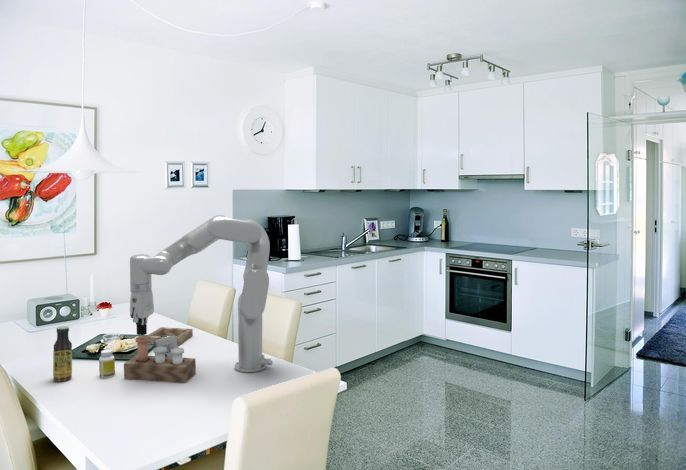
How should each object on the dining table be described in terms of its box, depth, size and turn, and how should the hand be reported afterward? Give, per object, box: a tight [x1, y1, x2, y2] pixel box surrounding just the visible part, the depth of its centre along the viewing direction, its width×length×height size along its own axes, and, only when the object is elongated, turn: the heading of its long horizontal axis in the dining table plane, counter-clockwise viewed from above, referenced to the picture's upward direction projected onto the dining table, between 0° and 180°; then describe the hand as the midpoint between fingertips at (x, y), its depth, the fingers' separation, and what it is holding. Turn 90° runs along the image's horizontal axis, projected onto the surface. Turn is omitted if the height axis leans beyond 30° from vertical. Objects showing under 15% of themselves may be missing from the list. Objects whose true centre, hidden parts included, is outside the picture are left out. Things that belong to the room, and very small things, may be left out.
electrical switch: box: [153, 336, 179, 357], centre depth 221 cm, size 9×5×9 cm, turn 141°
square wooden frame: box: [146, 326, 194, 347], centre depth 245 cm, size 16×16×4 cm
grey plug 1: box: [152, 347, 167, 363], centre depth 200 cm, size 5×5×10 cm
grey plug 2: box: [171, 347, 185, 364], centre depth 200 cm, size 5×5×10 cm
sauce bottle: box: [52, 325, 73, 383], centre depth 195 cm, size 7×6×20 cm
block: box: [123, 354, 197, 384], centre depth 201 cm, size 24×10×6 cm, turn 83°
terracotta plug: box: [135, 335, 149, 362], centre depth 201 cm, size 5×5×10 cm
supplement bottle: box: [98, 348, 116, 379], centre depth 200 cm, size 5×5×10 cm
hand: (141, 334), depth 200 cm, fingers closed
